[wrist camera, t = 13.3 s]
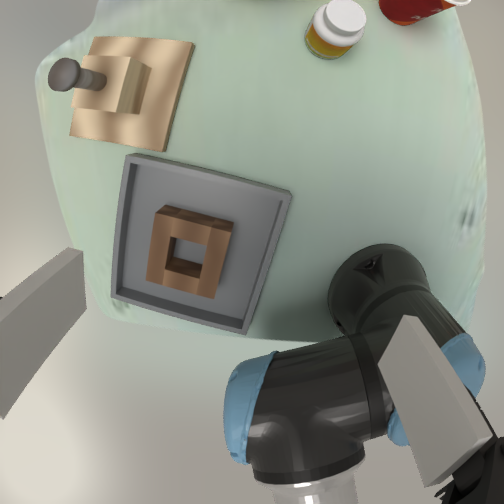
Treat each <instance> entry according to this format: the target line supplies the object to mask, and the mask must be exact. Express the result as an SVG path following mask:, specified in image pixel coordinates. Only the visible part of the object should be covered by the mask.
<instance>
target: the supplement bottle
mask: <svg viewBox="0 0 504 504" xmlns="http://www.w3.org/2000/svg"><path fill="white" fill-rule="evenodd" d="M365 24H366V14H365V12H364V10H363V9H362V7H361V6H360V5H358V4H357V3H356V2H354V1H352V0H332V1H330V2H329V3H327V4H324V5H322V6H321V7H319V8H318V9H317V11H316V12H315V14H314V16H313V18H312V20H311V22H310V24H309V26H308V28H307V30H306V32H305V43H306V45H307V47H308V49H309V50H310V51H311V52H312V53H313V54H314V55H316V56H318V57H320V58H323V59H336V58H339V57H341V56H342V55H343V54H344V53H346V52H347V51H348V50H349V49H350V48H351V47H352V46H353V45H355V44H356V43H357V42H358V41H359V40H360V39H361V38H362V36H363V34H364V26H365Z"/></svg>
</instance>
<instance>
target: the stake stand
mask: <svg viewBox="0 0 504 504" xmlns="http://www.w3.org/2000/svg"><path fill="white" fill-rule="evenodd" d="M194 47H195V45H194V44H193V43H192V42H185V41H176V40H167V39H156V38H141V37H94V39H93V42H92V45H91V48H90V51H89V54H88V55H84V58H83V61H82V64H81V67H80V65H79V63H78V62H77V61H76V60H73V59H69V58H62V59H60V60H58V61H57V62H56V63H55V64H54V65H53V66H52V68H51V69H50V72H49V75H48V84H49V86H50V88H51V89H52V90H54V91H63V92H64V91H68V90H70V89H71V88H73V87H74V88H75V91H74V95H73V100H72V104H71V107H72V108H75V109H74V113H73V118H72V124H71V129H70V135H69V136H75V137H82V138H88V139H95V140H101V141H107V142H112V143H118V144H124V145H129V146H134V147H139V148H145V149H150V150H154V151H159V152H165V151H166V148H167V143H168V139H169V135H170V131H171V127H172V123H173V119H174V115H175V111H176V107H177V103H178V100H179V96H180V93H181V89H182V86H183V82H184V79H185V75H186V72H187V69H188V66H189V62H190V59H191V56H192V53H193V50H194Z"/></svg>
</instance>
